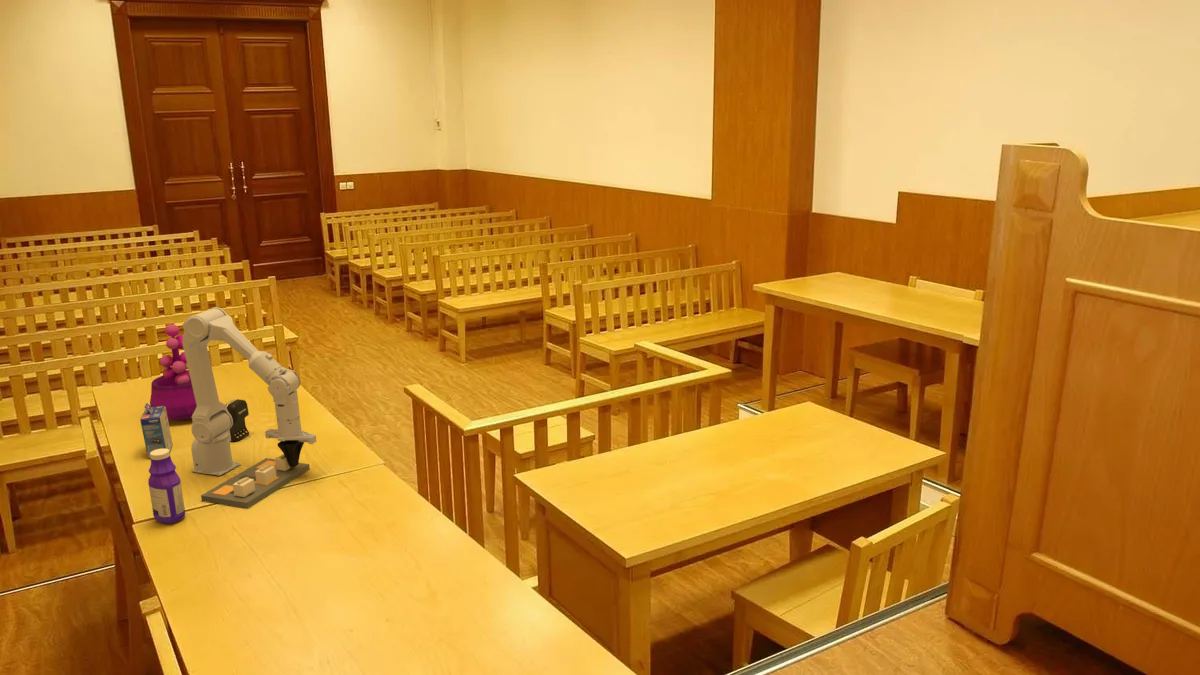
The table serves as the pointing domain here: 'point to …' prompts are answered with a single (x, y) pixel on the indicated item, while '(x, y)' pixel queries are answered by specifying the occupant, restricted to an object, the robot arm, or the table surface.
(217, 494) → the switch board
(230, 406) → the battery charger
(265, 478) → the switch
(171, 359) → the decorative plant
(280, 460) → the switch
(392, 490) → the table surface
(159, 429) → the ink cartridge box
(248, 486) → the switch
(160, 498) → the bottle
